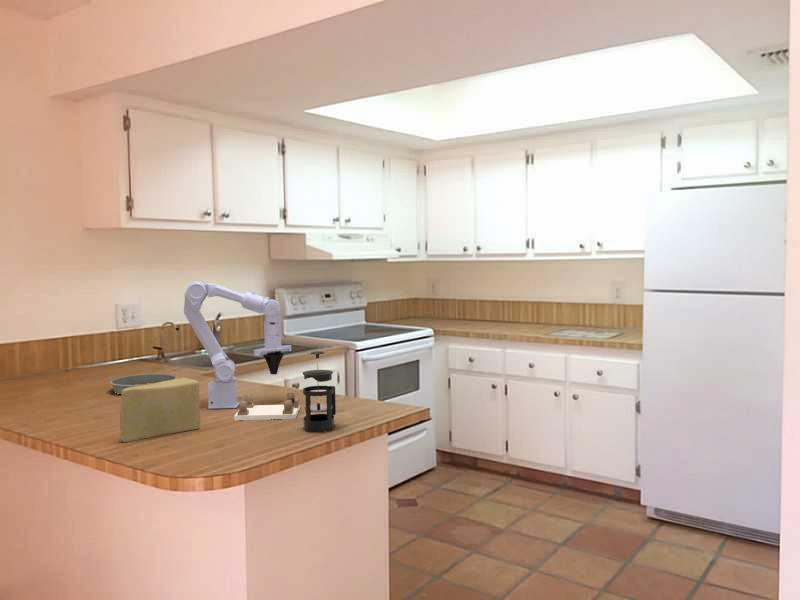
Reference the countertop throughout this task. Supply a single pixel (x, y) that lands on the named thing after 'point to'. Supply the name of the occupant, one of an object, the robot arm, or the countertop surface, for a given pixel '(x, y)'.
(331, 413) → the french press
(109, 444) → the countertop surface
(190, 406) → the cheese
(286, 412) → the white board with posts
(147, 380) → the cake pan
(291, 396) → the hinged leg
